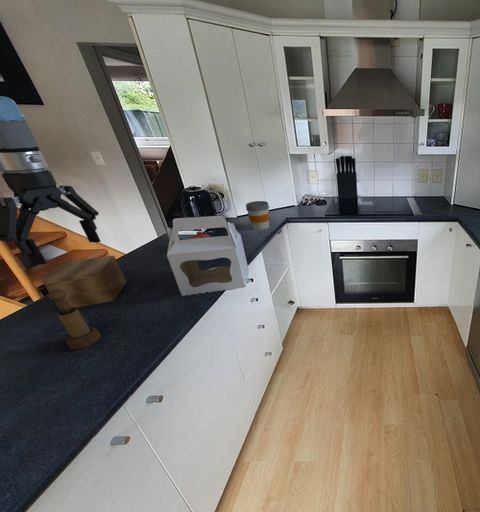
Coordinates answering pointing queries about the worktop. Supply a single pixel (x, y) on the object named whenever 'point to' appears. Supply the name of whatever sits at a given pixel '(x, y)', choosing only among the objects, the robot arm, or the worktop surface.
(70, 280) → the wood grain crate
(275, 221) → the worktop surface
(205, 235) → the butter dish
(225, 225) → the gable box
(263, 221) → the reusable coffee cup
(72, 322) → the mortar and pestle
